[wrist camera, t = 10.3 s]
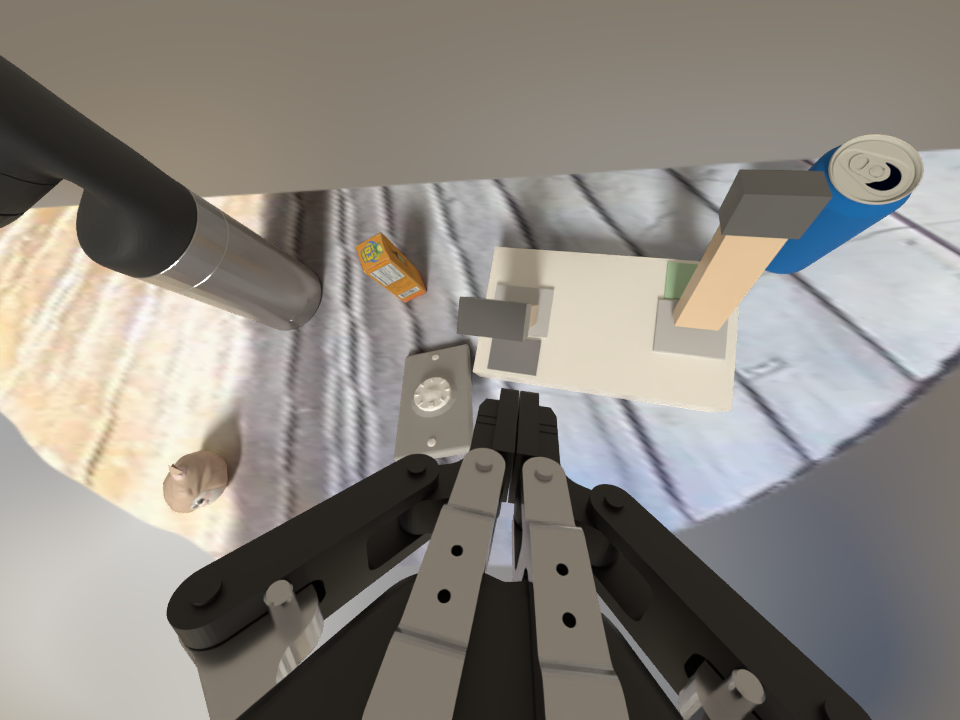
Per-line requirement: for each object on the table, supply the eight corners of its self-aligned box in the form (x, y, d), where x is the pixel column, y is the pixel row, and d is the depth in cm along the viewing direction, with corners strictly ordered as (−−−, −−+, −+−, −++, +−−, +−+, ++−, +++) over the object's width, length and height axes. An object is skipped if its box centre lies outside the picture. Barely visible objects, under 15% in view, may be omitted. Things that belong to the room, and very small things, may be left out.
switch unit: (712, 412, 36) (734, 410, 32) (480, 376, 41) (471, 370, 37) (722, 280, 38) (744, 261, 34) (500, 262, 43) (494, 244, 39)
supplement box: (395, 282, 46) (352, 243, 36) (419, 271, 45) (383, 228, 36) (403, 305, 45) (362, 271, 35) (427, 293, 45) (393, 256, 35)
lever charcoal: (539, 326, 36) (522, 341, 23) (496, 321, 37) (456, 333, 24) (543, 302, 35) (526, 304, 23) (499, 297, 36) (459, 296, 24)
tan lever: (723, 334, 32) (832, 196, 20) (669, 328, 33) (744, 194, 21) (721, 312, 33) (823, 171, 21) (669, 307, 34) (739, 169, 22)
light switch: (465, 338, 41) (468, 443, 32) (477, 366, 45) (483, 467, 36) (402, 351, 42) (389, 456, 34) (419, 378, 46) (411, 478, 38)
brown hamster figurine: (243, 496, 44) (178, 511, 37) (200, 511, 45) (127, 528, 38) (236, 444, 46) (172, 447, 38) (194, 459, 47) (123, 465, 39)
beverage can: (783, 289, 37) (889, 225, 25) (727, 252, 39) (802, 176, 27) (827, 243, 37) (953, 158, 25) (769, 208, 38) (863, 113, 27)
